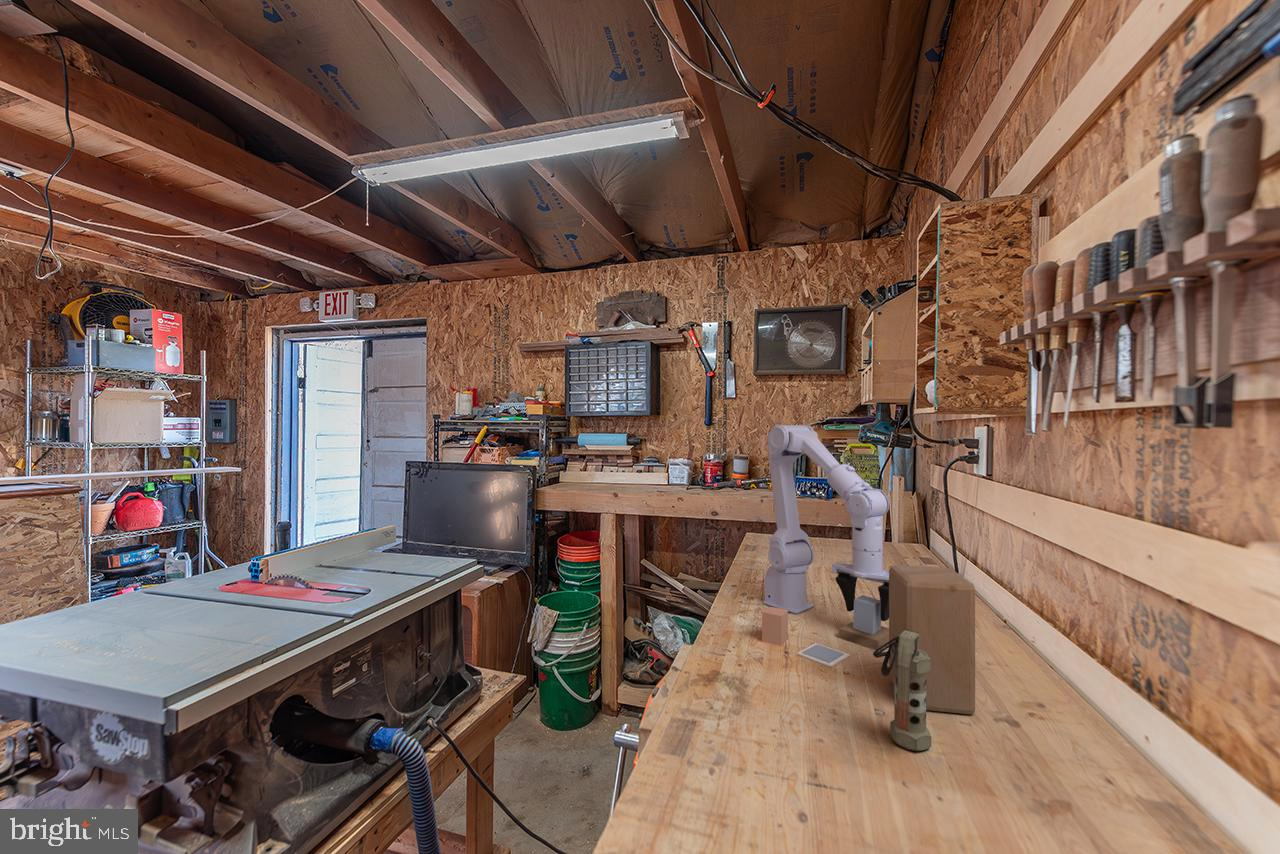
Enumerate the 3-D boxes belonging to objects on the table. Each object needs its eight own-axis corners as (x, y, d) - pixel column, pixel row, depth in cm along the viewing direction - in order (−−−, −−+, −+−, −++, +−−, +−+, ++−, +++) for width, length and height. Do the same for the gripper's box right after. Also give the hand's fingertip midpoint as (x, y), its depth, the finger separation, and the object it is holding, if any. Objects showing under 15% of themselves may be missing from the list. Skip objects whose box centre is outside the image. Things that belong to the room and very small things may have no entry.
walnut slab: (839, 640, 105) (839, 628, 105) (857, 630, 110) (857, 619, 110) (878, 653, 99) (878, 640, 99) (895, 642, 104) (895, 630, 104)
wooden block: (978, 718, 76) (978, 583, 76) (905, 710, 78) (905, 579, 78) (951, 685, 86) (951, 566, 86) (887, 679, 88) (887, 563, 88)
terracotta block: (761, 641, 103) (762, 612, 103) (768, 635, 106) (768, 606, 106) (781, 646, 101) (781, 616, 101) (787, 639, 104) (787, 610, 104)
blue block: (852, 628, 104) (854, 599, 104) (861, 623, 107) (862, 595, 107) (872, 634, 101) (873, 605, 101) (880, 629, 104) (882, 600, 104)
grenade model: (881, 723, 74) (881, 620, 74) (934, 742, 70) (934, 633, 70) (867, 743, 70) (866, 633, 70) (923, 765, 65) (923, 648, 65)
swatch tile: (796, 654, 97) (796, 651, 97) (815, 644, 102) (815, 641, 102) (831, 667, 92) (831, 664, 92) (849, 656, 96) (849, 653, 96)
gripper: (824, 545, 107) (824, 609, 107) (895, 558, 96) (895, 630, 96) (841, 540, 112) (841, 602, 112) (910, 552, 101) (910, 621, 101)
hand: (867, 614), depth 104 cm, fingers open, 6 cm apart
